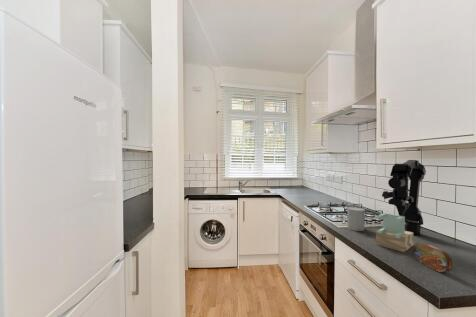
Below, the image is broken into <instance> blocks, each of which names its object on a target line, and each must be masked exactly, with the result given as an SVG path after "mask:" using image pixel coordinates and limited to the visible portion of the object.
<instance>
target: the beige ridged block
mask: <svg viewBox="0 0 476 317" xmlns="http://www.w3.org/2000/svg"><path fill="white" fill-rule="evenodd" d="M375 245H377V246H380V247H383V248H388V249H391V250H395V251H399V252H402V253H405V252H406V251H408V250H409V249H410V248H412V247H414V233H413V232H409V231H405V235H404V236H402V237H400V238H396V234H395V233H391V232H384V233H382V234H380V233H378V230H376V231H375Z"/></svg>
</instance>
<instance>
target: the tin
mask: <svg viewBox="0 0 476 317" xmlns="http://www.w3.org/2000/svg"><path fill="white" fill-rule="evenodd" d="M412 250H413V251H412V252H413V255H414V258H415V259H416V260H417V262H419V263H420V262H421V263H420V264H422V263H423V264H422V265H424V264H425V265H424V266H426V267H428V268H430V269H431V268H432V270H433V269H434V270H433V271H435V270H436V272H437V271H438V273H448V272H450V271H451V270H452V268H453V260H452V258H451V256H450V255H449V253H448V252H446V251H445V250H443V249H440V248H438V247H437V246H433V245H431V244H428V243H426V242H417V243H415V244H413V248H412Z"/></svg>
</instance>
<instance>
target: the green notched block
mask: <svg viewBox="0 0 476 317" xmlns="http://www.w3.org/2000/svg"><path fill="white" fill-rule="evenodd" d="M377 216H378V217H377V218H378V219H382V228H379V229H377V231H378V233H380V234H382V233H384V232H391V233H395V234H396V238H400V237H402V236H404V235H405V217H404V216H399V214H393V213H388V212H387V213H386V212H381V214H377Z"/></svg>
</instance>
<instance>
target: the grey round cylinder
mask: <svg viewBox="0 0 476 317" xmlns="http://www.w3.org/2000/svg"><path fill="white" fill-rule="evenodd" d="M365 211H366V210H365V208H362V207H358V206H357V207H356V206H349V207H348V206H347V223H346V224H347V229H348V230H352V231H357V232H363V231H365V219H366V217H365V213H366V212H365Z"/></svg>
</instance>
